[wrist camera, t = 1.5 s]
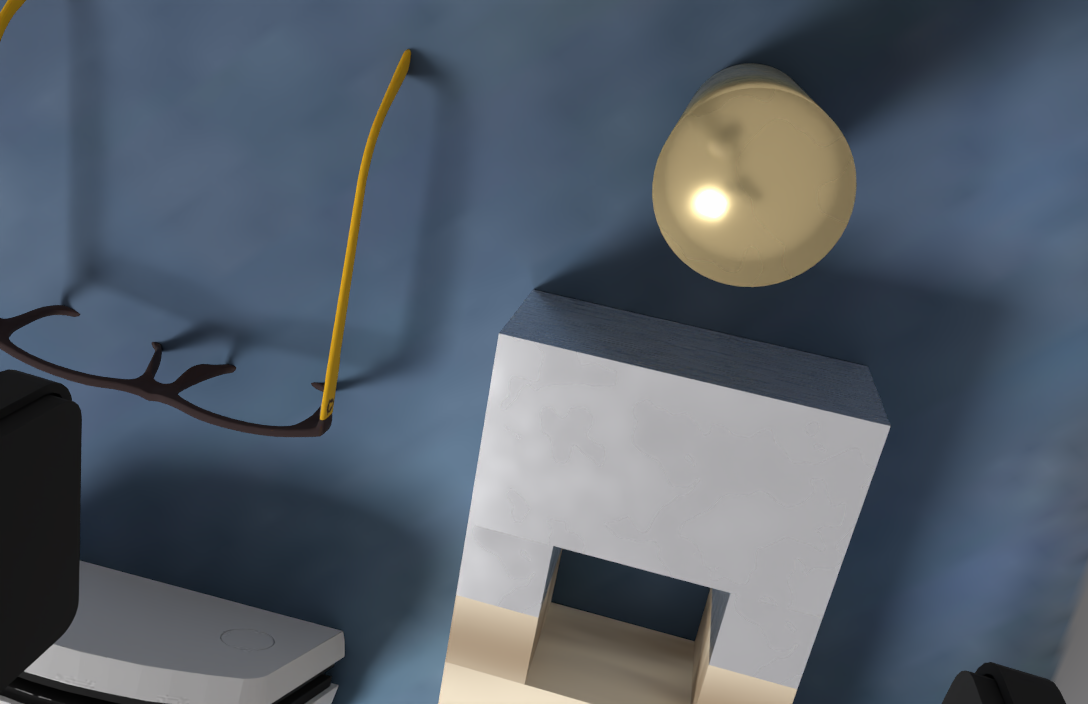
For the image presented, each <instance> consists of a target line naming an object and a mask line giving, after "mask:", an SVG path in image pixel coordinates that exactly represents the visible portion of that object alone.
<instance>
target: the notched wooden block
mask: <svg viewBox="0 0 1088 704" xmlns="http://www.w3.org/2000/svg"><path fill="white" fill-rule="evenodd" d="M562 549H563V548H562ZM562 549H561V552H560V555H559V558H558V561H557V564H556V567H555V570H554V573H553V576H552V579H551V582H550V585H549V588H548V591H547V594H546V597H545V600H544V603H543V606H542V609H541V611H540V614H539V617H538V618H537V617H534V616H530V615H527V614H523V613H519V612H516V611H512V610H509V609H505V608H501V607H498V606H494V605H490V604H487V603H483V602H480V601H476V600H472V599H469V598H465V597H462V596H458V595H456V599H455V605H454V612H453V618H452V624H451V630H450V636H449V642H448V648H447V654H446V660H445V666H444V673H443V679H442V685H441V691H440V697H439V703H438V704H792V703H793V700H794V697H795V694H796V691H797V689H794V688H791V687H787V686H783V685H780V684H776V683H773V682H769V681H765V680H762V679H758V678H754V677H751V676H747V675H744V674H740V673H736V672H733V671H729V670H726V669H722V668H718V667H715V666H711V665H709V650H710V628H711V606H712V588H710V591H709V595H708V598H707V602H706V605H705V608H704V612H703V615H702V619H701V622H700V625H699V629H698V632H697V636H696V639H695V641H691V640H688V639H684V638H680V637H677V636H673V635H669V634H666V633H662V632H658V631H655V630H651V629H647V628H644V627H640V626H636V625H633V624H629V623H625V622H622V621H618V620H615V619H611V618H607V617H604V616H600V615H596V614H593V613H589V612H585V611H582V610H578V609H574V608H571V607H567V606H563V605H560V604H556V603H552V602H551V600H552V595H553V591H554V586H555V581H556V577H557V572H558V567H559V563H560V558H561V553H562Z"/></svg>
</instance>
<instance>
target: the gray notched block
mask: <svg viewBox="0 0 1088 704" xmlns="http://www.w3.org/2000/svg"><path fill="white" fill-rule="evenodd" d="M890 427H891V426H890V423H889V421H888V418H887V415H886V413H885V410H884V407H883V405H882V402H881V400H880V397H879V394H878V392H877V389H876V386H875V384H874V381H873V379H872V376H871V373H870V371H869V368H868V366H864V365H860V364H855V363H851V362H847V361H842V360H838V359H834V358H829V357H825V356H821V355H816V354H812V353H807V352H803V351H799V350H794V349H790V348H786V347H781V346H777V345H773V344H768V343H764V342H759V341H755V340H751V339H746V338H742V337H738V336H733V335H729V334H725V333H720V332H716V331H711V330H707V329H703V328H698V327H694V326H690V325H685V324H681V323H677V322H672V321H668V320H664V319H659V318H655V317H650V316H646V315H642V314H637V313H633V312H629V311H624V310H620V309H616V308H611V307H607V306H602V305H598V304H594V303H589V302H585V301H581V300H576V299H572V298H568V297H563V296H559V295H555V294H550V293H546V292H541V291H537V290H532V291H531V293H530V294H529V295H528V297H527V298H526V299H525V300H524V302H523V303H522V304H521V306H520V307H519V308H518V310H517V311H516V312H515V313H514V315H513V316H512V317H511V319H510V320H509V321H508V322H507V324H506V325H505V326H504V328H503V329H502V330H501V332H500V333H499V337H498V343H497V349H496V355H495V361H494V367H493V373H492V379H491V386H490V392H489V398H488V404H487V410H486V416H485V422H484V428H483V434H482V441H481V447H480V453H479V459H478V465H477V471H476V477H475V483H474V489H473V495H472V502H471V508H470V514H469V520H468V526H467V532H466V538H465V544H464V550H463V557H462V563H461V569H460V575H459V581H458V587H457V593H456V595H458V596H462V597H465V598H469V599H472V600H476V601H480V602H483V603H487V604H490V605H494V606H498V607H501V608H505V609H509V610H512V611H516V612H519V613H523V614H527V615H530V616H534V617H537V618H538V617H539V614H540V611H541V609H542V606H543V603H544V600H545V597H546V594H547V591H548V588H549V585H550V582H551V579H552V576H553V573H554V570H555V567H556V564H557V561H558V558H559V555H560V552H561V549H562V548H563V549H567V550H571V551H574V552H578V553H582V554H586V555H589V556H593V557H597V558H601V559H604V560H608V561H612V562H616V563H619V564H623V565H627V566H631V567H635V568H638V569H642V570H646V571H650V572H653V573H657V574H661V575H665V576H668V577H672V578H676V579H680V580H683V581H687V582H691V583H695V584H699V585H702V586H706V587H710V588H712V606H711V628H710V650H709V665H711V666H715V667H718V668H722V669H726V670H729V671H733V672H736V673H740V674H744V675H747V676H751V677H754V678H758V679H762V680H765V681H769V682H773V683H776V684H780V685H783V686H787V687H791V688H794V689H798V686H799V683H800V680H801V677H802V675H803V672H804V669H805V666H806V663H807V660H808V658H809V655H810V652H811V649H812V646H813V644H814V641H815V638H816V635H817V632H818V629H819V627H820V624H821V621H822V618H823V615H824V613H825V610H826V607H827V604H828V601H829V599H830V596H831V593H832V590H833V587H834V584H835V582H836V579H837V576H838V573H839V570H840V568H841V565H842V562H843V559H844V556H845V553H846V551H847V548H848V545H849V542H850V539H851V537H852V534H853V531H854V528H855V525H856V522H857V520H858V517H859V514H860V511H861V508H862V506H863V503H864V500H865V497H866V494H867V491H868V489H869V486H870V483H871V480H872V477H873V475H874V472H875V469H876V466H877V463H878V460H879V458H880V455H881V452H882V449H883V446H884V444H885V441H886V438H887V435H888V432H889V429H890Z"/></svg>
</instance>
